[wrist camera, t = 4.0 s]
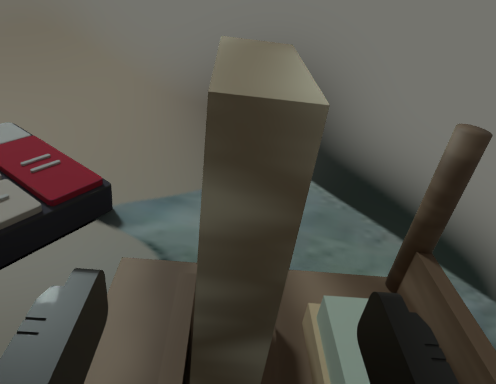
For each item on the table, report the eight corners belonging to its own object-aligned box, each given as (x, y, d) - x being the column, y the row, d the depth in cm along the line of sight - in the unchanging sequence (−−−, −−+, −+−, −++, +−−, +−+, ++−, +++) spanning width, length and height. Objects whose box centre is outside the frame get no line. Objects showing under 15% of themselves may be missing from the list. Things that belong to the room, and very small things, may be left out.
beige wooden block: (184, 461, 16) (208, 91, 7) (198, 338, 21) (221, 35, 12) (240, 463, 16) (329, 105, 7) (240, 340, 21) (292, 45, 12)
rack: (-40, 713, 11) (-443, 605, 4) (123, 272, 26) (107, 83, 19) (591, 698, 12) (1168, 603, 5) (398, 292, 28) (480, 125, 20)
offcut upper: (347, 461, 15) (359, 440, 14) (316, 317, 21) (323, 295, 20) (450, 464, 15) (470, 444, 14) (391, 322, 21) (402, 300, 20)
